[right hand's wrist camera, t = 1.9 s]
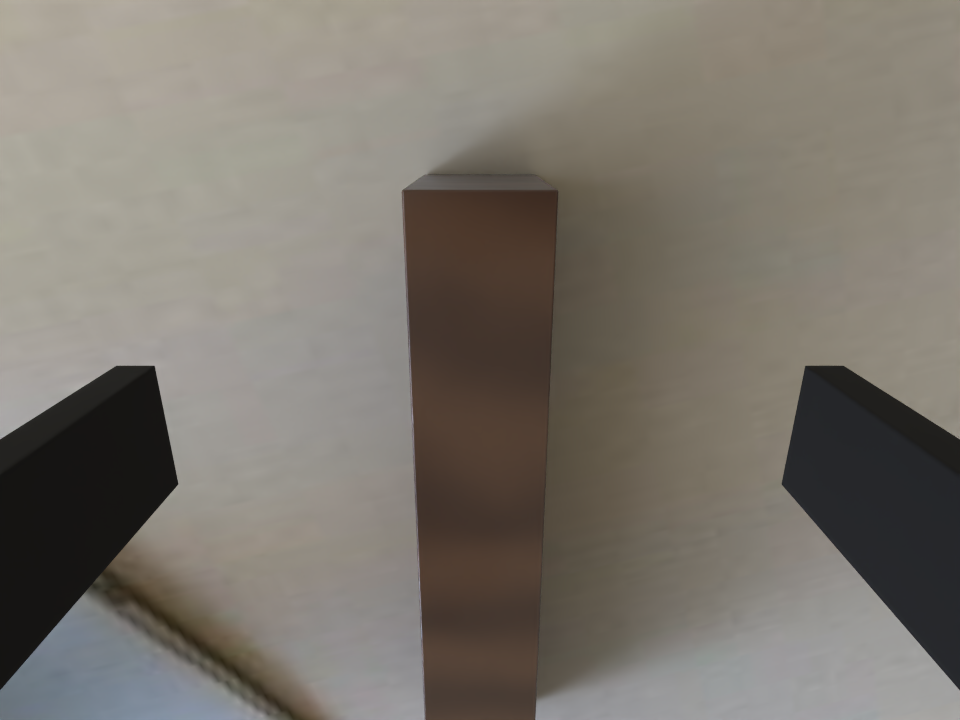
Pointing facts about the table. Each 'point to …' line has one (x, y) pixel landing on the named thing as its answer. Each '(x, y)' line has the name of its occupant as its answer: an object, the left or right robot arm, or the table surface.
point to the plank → (480, 432)
